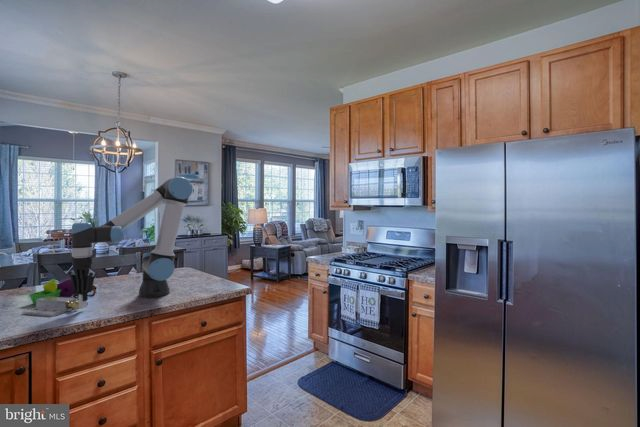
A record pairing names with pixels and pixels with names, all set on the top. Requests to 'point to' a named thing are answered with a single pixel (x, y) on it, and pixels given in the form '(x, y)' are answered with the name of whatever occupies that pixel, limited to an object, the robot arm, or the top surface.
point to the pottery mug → (92, 290)
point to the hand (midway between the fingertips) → (82, 307)
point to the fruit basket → (46, 291)
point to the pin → (74, 305)
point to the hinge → (50, 306)
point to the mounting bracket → (65, 288)
